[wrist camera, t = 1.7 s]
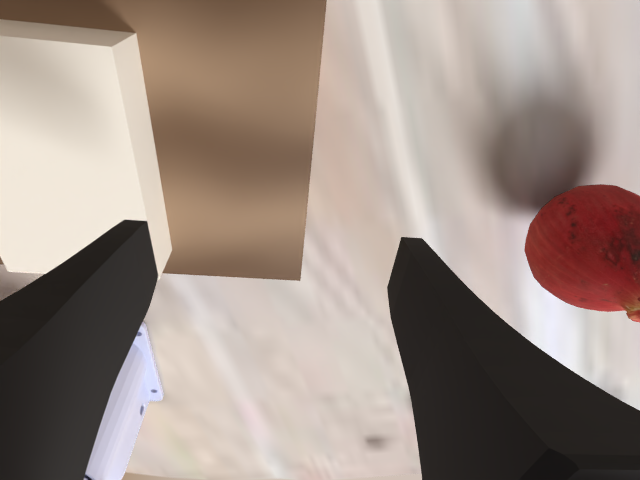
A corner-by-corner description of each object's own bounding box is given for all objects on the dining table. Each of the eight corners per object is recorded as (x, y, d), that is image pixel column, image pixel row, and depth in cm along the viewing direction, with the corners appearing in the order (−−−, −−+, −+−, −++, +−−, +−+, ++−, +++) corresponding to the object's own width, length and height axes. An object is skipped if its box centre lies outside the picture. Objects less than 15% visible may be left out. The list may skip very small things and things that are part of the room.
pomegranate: (512, 163, 20) (605, 267, 14) (627, 151, 20) (774, 251, 14) (494, 250, 24) (561, 363, 18) (591, 240, 24) (695, 352, 17)
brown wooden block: (301, 232, 23) (300, 280, 20) (-73, 208, 21) (-140, 256, 18) (322, -14, 15) (326, -1, 12) (-245, -79, 14) (-409, -83, 11)
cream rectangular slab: (172, 249, 18) (159, 279, 17) (34, 241, 18) (7, 271, 16) (136, 33, 13) (111, 46, 11) (-64, 12, 12) (-120, 24, 11)
